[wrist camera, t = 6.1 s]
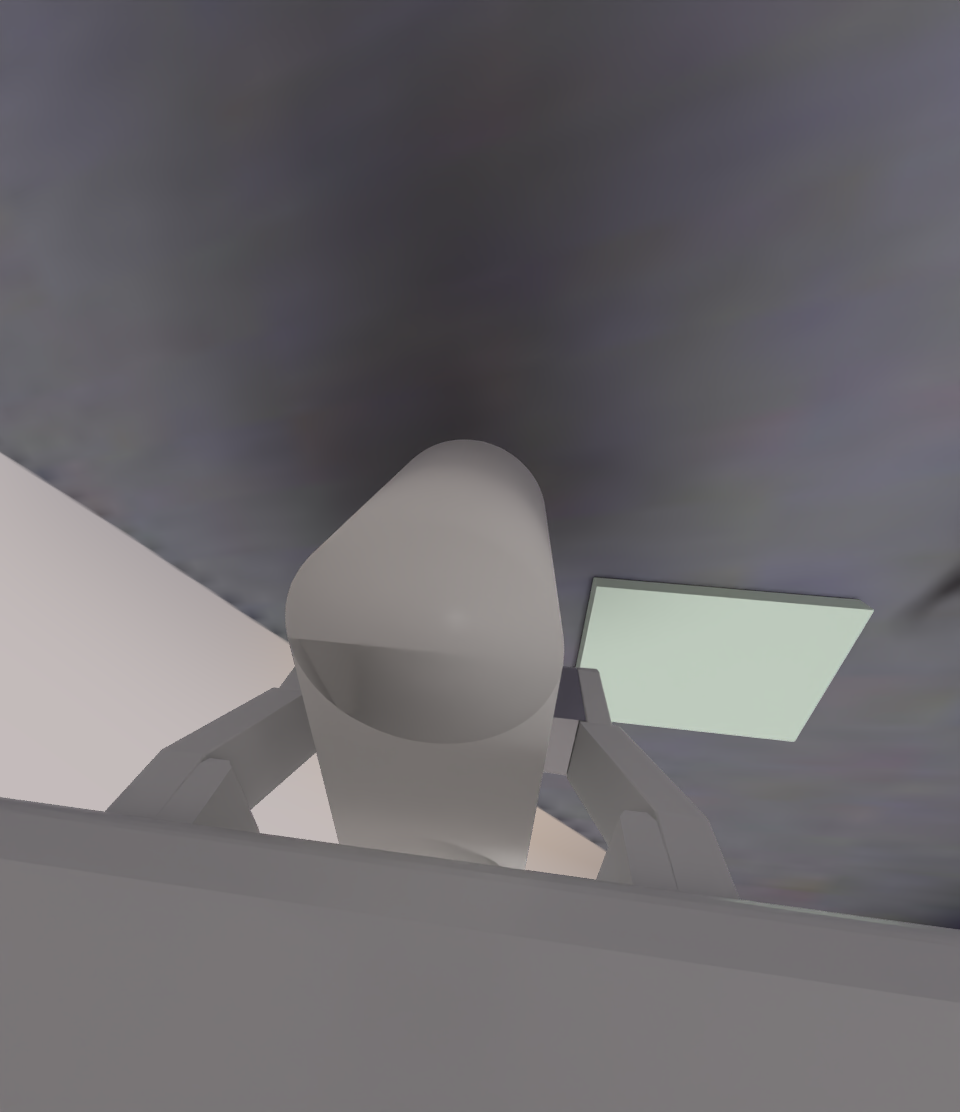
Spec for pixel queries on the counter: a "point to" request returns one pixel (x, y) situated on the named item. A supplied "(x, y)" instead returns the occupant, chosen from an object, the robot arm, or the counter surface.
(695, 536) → the counter surface
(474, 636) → the connector
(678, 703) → the green mat
